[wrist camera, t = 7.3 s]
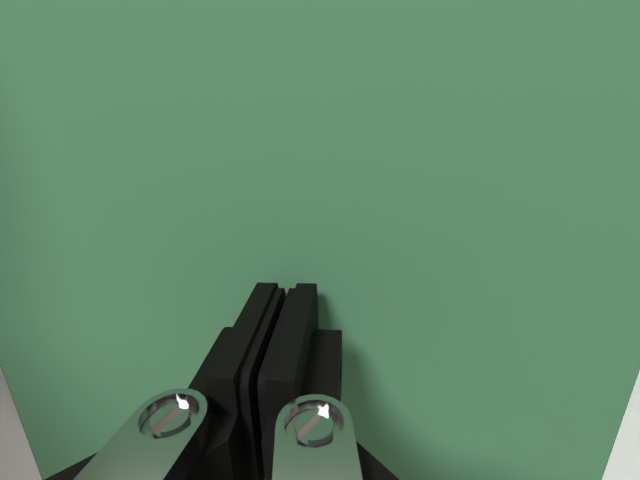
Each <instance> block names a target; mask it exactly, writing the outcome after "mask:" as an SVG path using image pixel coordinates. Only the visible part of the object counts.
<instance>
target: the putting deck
mask: <svg viewBox="0 0 640 480" xmlns="http://www.w3.org/2000/svg"><path fill="white" fill-rule="evenodd" d="M258 282H260V283H277V284H278V287H279V288H284V289H285V296H287V293H288V290H289V288H295V287H296V284H297V283H316V284H317V298H318V329H325V330H342V389H341V403H343V404H344V406H345V407H346V408H347V409H348V410H349V413H350V415H351V418H352V422H353V427H354V433H355V439H356V441H357V442H358V443H359V444H360V445H362V446H363V447H364V448H365V449H366V450H367V451H368V452H369V453H370V454H372V455H373V456H374V457H375V458H376V459H377V460H378V461H379V462H381V463H382V464H383V465H384V466H385V467H386V468H387V469H388V470H389V471H391V472H392V473H393V474H394V475H395V476H396V477H397V478H398V479H400V480H602V477H603V474H604V471H605V468H606V465H607V462H608V460H609V457H610V454H611V451H612V448H613V445H614V442H615V439H616V436H617V434H618V431H619V428H620V425H621V422H622V419H623V416H624V413H625V411H626V408H627V405H628V402H629V399H630V396H631V393H632V390H633V387H634V385H635V382H636V379H637V376H638V373H639V370H640V0H0V365H1V368H2V370H3V373H4V376H5V379H6V381H7V384H8V387H9V390H10V392H11V395H12V398H13V401H14V403H15V406H16V409H17V412H18V414H19V417H20V420H21V423H22V425H23V428H24V431H25V434H26V436H27V439H28V442H29V445H30V447H31V450H32V453H33V456H34V458H35V461H36V464H37V467H38V469H39V472H40V475H41V478H42V480H45V479H46V478H48V477H50V476H52V475H54V474H56V473H58V472H60V471H62V470H64V469H66V468H68V467H70V466H72V465H74V464H76V463H78V462H80V461H82V460H83V459H85V458H87V457H89V456H91V455H93V454H95V453H97V452H99V451H100V449H101V448H102V447H103V446H104V445H105V444H106V443H107V442H108V441H109V440H110V438H111V437H112V436H113V435H114V434H115V433H116V432H117V431H118V430H119V429H120V427H121V426H122V425H123V424H124V423H125V422H126V421H127V420H128V419H129V418H130V416H131V415H132V414H133V413H134V412H135V411H136V410H137V409H138V408H139V407H140V406H141V405H142V404H143V403H144V402H146V401H147V400H148V399H150V398H152V397H154V396H155V395H157V394H160V393H162V392H165V391H168V390H172V389H178V388H188V387H189V385H190V383H191V382H192V380H193V378H194V377H195V375H196V373H197V371H198V370H199V368H200V366H201V365H202V363H203V361H204V360H205V358H206V356H207V354H208V353H209V351H210V349H211V348H212V346H213V344H214V343H215V341H216V339H217V337H218V336H219V334H220V332H221V331H222V329H223V328H224V327H233V326H234V324H235V322H236V320H237V318H238V317H239V315H240V313H241V311H242V309H243V307H244V306H245V304H246V302H247V300H248V298H249V296H250V295H251V293H252V291H253V289H254V287H255V286H256V284H257V283H258Z"/></svg>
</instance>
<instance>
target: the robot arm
mask: <svg viewBox="0 0 640 480" xmlns="http://www.w3.org/2000/svg"><path fill="white" fill-rule="evenodd" d="M341 389H342V330H325V329H318V298H317V284H316V283H297V284H296V287H295V288H289V290H288V293H287V296H285V289H284V288H279V287H278V284H277V283H260V282H258V283H257V284H256V286H255V287H254V289H253V291H252V293H251V295H250V296H249V298H248V300H247V302H246V304H245V306H244V307H243V309H242V311H241V313H240V315H239V317H238V318H237V320H236V322H235V324H234V326H233V327H224V328H223V329H222V331H221V332H220V334H219V336H218V337H217V339H216V341H215V343H214V344H213V346H212V348H211V349H210V351H209V353H208V354H207V356H206V358H205V360H204V361H203V363H202V365H201V366H200V368H199V370H198V371H197V373H196V375H195V377H194V378H193V380H192V382H191V383H190V385H189V387H188V388H178V389H172V390H168V391H165V392H162V393H160V394H157V395H155V396H154V397H152V398H150V399H148V400H147V401H146V402H144V403H143V404H142V405H141V406H140V407H139V408H138V409H137V410H136V411H135V412H134V413H133V414H132V415H131V416H130V418H129V419H128V420H127V421H126V422H125V423H124V424H123V425H122V426H121V427H120V429H119V430H118V431H117V432H116V433H115V434H114V435H113V436H112V437H111V438H110V440H109V441H108V442H107V443H106V444H105V445H104V446H103V447H102V448H101V449H100V451H99V452H97V453H95V454H93V455H91V456H89V457H87V458H85V459H83V460H82V461H80V462H78V463H76V464H74V465H72V466H70V467H68V468H66V469H64V470H62V471H60V472H58V473H56V474H54V475H52V476H50V477H48V478H46V479H45V480H400V479H398V478H397V477H396V476H395V475H394V474H393V473H392V472H391V471H389V470H388V469H387V468H386V467H385V466H384V465H383V464H382V463H381V462H379V461H378V460H377V459H376V458H375V457H374V456H373V455H372V454H370V453H369V452H368V451H367V450H366V449H365V448H364V447H363V446H362V445H360V444H359V443H358V442H357V441H356V439H355V433H354V427H353V422H352V418H351V415H350V413H349V410H348V409H347V408H346V407H345V406H344V404H343V403H341Z"/></svg>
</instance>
